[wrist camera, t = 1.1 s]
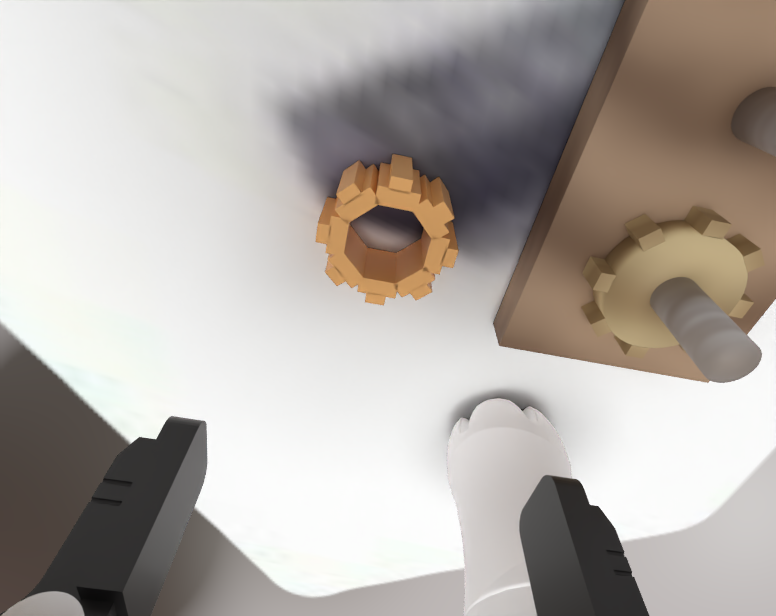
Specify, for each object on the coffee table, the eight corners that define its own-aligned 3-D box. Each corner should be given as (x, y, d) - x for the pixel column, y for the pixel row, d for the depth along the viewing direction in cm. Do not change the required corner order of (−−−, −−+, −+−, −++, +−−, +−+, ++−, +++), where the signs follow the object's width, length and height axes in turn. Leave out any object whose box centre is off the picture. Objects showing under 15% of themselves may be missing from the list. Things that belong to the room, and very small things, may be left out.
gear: (334, 141, 21) (325, 162, 19) (468, 169, 22) (476, 193, 19) (318, 260, 25) (309, 291, 22) (434, 282, 25) (437, 315, 23)
